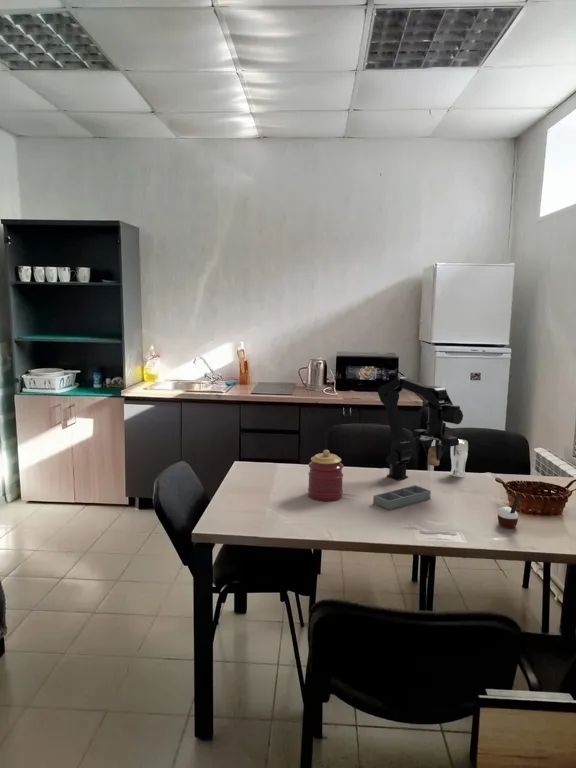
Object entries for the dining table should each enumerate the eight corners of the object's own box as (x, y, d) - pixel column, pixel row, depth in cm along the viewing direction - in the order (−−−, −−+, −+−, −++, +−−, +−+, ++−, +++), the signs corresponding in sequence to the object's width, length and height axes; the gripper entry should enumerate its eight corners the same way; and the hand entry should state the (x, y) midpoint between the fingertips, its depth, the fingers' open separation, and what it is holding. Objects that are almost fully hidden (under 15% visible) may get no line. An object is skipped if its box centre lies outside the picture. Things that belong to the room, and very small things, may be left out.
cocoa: (495, 521, 182) (495, 486, 181) (515, 522, 181) (515, 487, 180) (500, 531, 173) (501, 494, 172) (521, 532, 172) (522, 495, 171)
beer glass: (445, 473, 234) (447, 439, 232) (458, 472, 236) (460, 438, 234) (457, 478, 227) (459, 443, 225) (469, 476, 230) (472, 442, 228)
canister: (302, 497, 201) (302, 451, 199) (316, 488, 213) (317, 444, 210) (334, 504, 195) (335, 456, 193) (347, 493, 207) (349, 448, 204)
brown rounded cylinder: (425, 463, 213) (426, 445, 212) (432, 462, 215) (433, 444, 214) (434, 466, 209) (435, 448, 208) (441, 464, 212) (442, 446, 211)
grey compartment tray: (373, 503, 196) (373, 495, 196) (414, 493, 208) (415, 485, 208) (388, 510, 190) (388, 501, 189) (430, 499, 202) (430, 490, 202)
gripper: (469, 421, 207) (466, 461, 209) (430, 413, 222) (428, 451, 224) (450, 425, 201) (448, 466, 203) (411, 416, 216) (410, 454, 218)
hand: (433, 459), depth 212 cm, fingers closed on brown rounded cylinder, 4 cm apart
